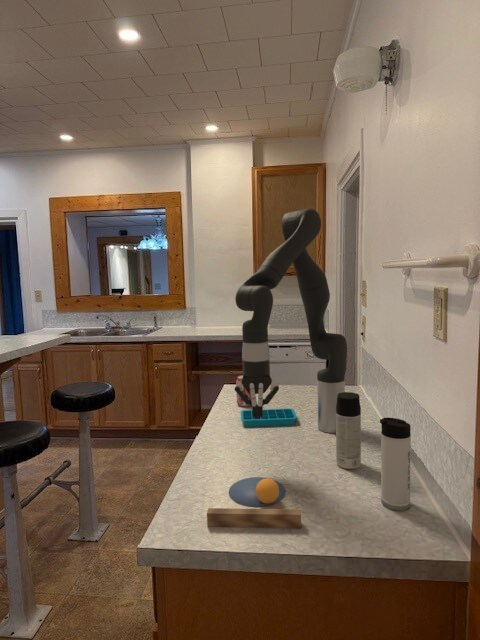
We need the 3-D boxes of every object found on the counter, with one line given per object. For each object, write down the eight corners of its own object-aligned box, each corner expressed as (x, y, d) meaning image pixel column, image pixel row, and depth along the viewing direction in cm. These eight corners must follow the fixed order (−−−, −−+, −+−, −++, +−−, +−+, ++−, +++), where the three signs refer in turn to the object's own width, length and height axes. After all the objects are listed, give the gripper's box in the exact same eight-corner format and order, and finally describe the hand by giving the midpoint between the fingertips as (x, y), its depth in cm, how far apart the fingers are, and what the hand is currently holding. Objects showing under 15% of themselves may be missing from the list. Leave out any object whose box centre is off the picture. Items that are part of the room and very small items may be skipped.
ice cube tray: (240, 417, 159) (240, 410, 159) (293, 415, 159) (293, 408, 159) (241, 428, 148) (241, 420, 147) (297, 426, 148) (297, 418, 148)
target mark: (284, 478, 109) (284, 477, 109) (285, 507, 96) (285, 506, 96) (231, 477, 111) (231, 476, 111) (225, 506, 97) (225, 505, 97)
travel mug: (375, 497, 98) (375, 415, 96) (402, 495, 99) (402, 414, 97) (386, 512, 92) (387, 425, 90) (415, 510, 92) (416, 423, 91)
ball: (278, 474, 100) (280, 486, 95) (277, 496, 101) (279, 508, 95) (255, 473, 100) (256, 485, 95) (254, 495, 101) (255, 507, 95)
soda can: (252, 407, 170) (251, 378, 169) (235, 407, 171) (234, 378, 170) (254, 402, 177) (254, 374, 176) (238, 402, 178) (237, 374, 177)
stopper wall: (300, 522, 89) (300, 509, 89) (301, 528, 87) (300, 514, 87) (208, 521, 91) (208, 508, 91) (207, 526, 89) (206, 513, 89)
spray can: (361, 460, 118) (361, 392, 116) (360, 471, 111) (359, 399, 110) (337, 458, 120) (336, 390, 118) (335, 468, 114) (334, 397, 112)
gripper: (279, 354, 118) (281, 413, 120) (233, 355, 119) (235, 414, 121) (280, 360, 111) (281, 422, 112) (230, 360, 112) (233, 423, 113)
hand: (257, 418), depth 117 cm, fingers closed
